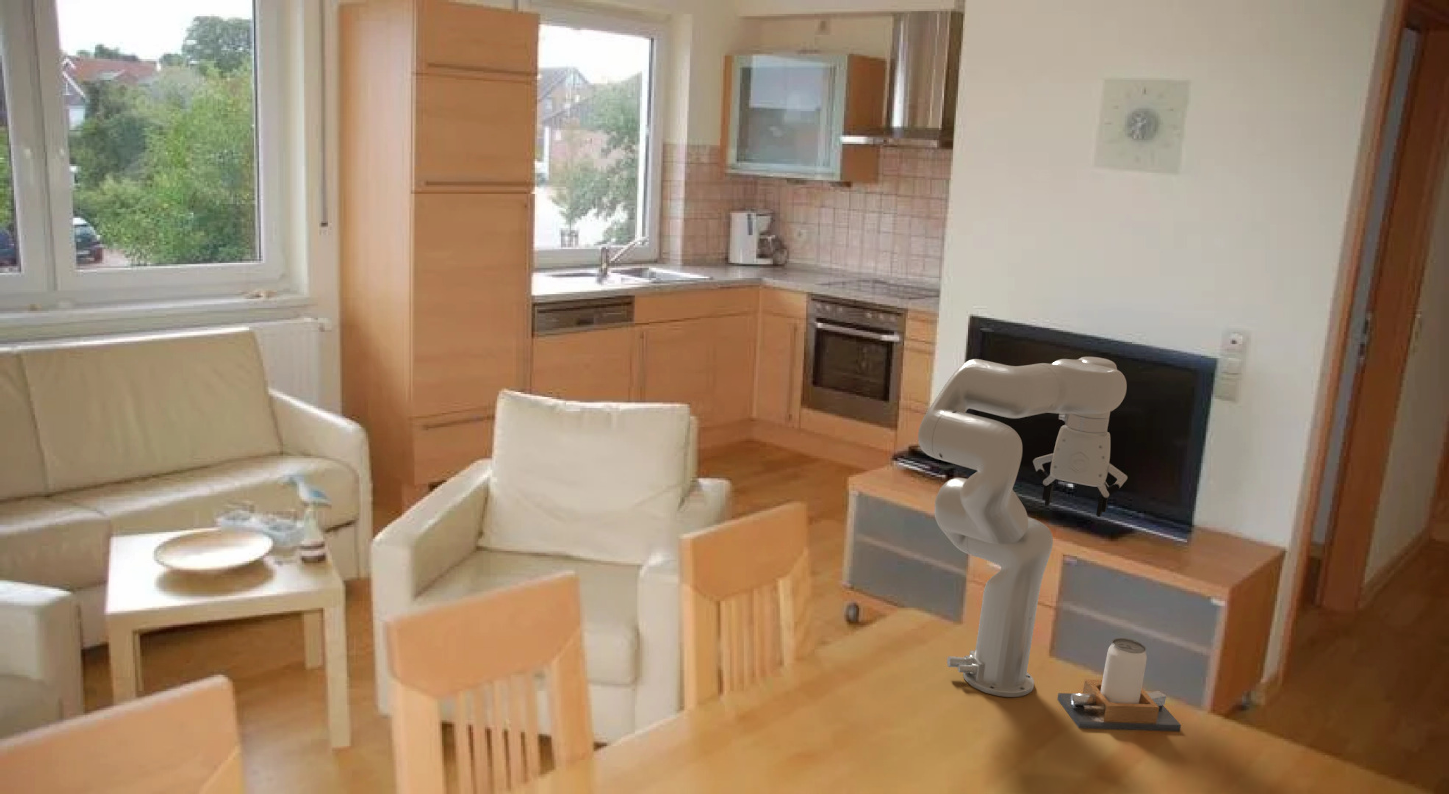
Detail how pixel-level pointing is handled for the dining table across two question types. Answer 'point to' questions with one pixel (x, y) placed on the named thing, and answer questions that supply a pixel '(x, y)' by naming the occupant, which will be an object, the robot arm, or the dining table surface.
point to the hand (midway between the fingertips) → (1073, 509)
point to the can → (1124, 671)
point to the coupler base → (1117, 710)
